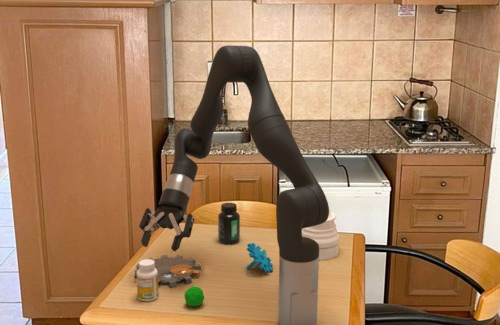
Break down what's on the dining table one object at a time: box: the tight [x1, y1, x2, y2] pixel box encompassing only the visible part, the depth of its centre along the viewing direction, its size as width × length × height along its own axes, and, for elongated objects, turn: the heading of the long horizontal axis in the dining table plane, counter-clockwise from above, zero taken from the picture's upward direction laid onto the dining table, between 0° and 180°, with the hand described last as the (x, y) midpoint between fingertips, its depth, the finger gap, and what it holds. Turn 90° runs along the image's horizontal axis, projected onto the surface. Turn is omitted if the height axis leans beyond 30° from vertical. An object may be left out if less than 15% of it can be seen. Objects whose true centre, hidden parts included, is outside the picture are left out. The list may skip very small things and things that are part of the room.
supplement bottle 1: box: [136, 258, 160, 302], centre depth 162 cm, size 5×5×10 cm
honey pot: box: [302, 209, 340, 261], centre depth 191 cm, size 13×13×18 cm
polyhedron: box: [184, 285, 205, 308], centre depth 159 cm, size 5×5×5 cm
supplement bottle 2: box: [217, 202, 241, 245], centre depth 199 cm, size 7×7×12 cm
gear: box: [246, 242, 274, 273], centre depth 180 cm, size 11×6×10 cm
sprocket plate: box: [134, 254, 202, 289], centre depth 177 cm, size 18×18×2 cm
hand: (158, 248), depth 167 cm, fingers open, 8 cm apart
